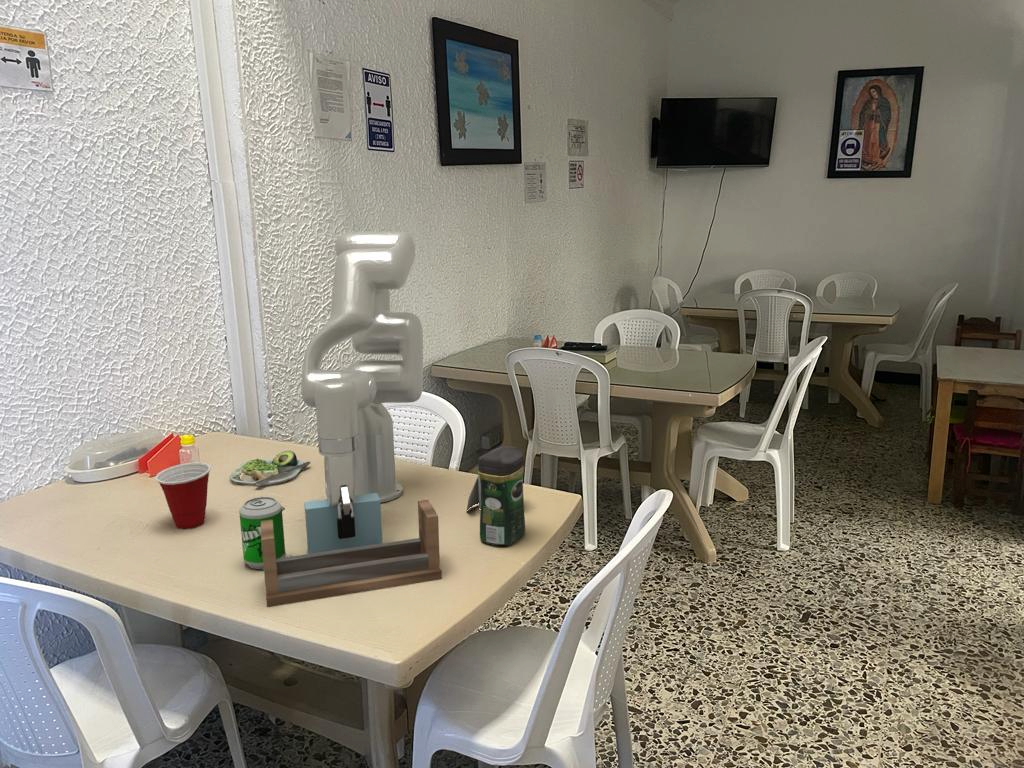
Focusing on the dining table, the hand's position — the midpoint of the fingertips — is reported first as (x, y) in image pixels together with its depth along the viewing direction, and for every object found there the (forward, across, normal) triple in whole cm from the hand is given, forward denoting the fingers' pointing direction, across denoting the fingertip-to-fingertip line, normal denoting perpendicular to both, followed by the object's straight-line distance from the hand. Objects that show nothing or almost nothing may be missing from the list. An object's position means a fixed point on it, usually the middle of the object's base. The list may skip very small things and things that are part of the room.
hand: (343, 527), depth 148 cm
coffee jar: (+5, +6, +31) cm, 31 cm away
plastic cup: (+5, -23, -30) cm, 38 cm away
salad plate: (+5, -50, -13) cm, 52 cm away
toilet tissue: (+5, -9, +33) cm, 35 cm away
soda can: (+5, +1, -15) cm, 16 cm away
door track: (+4, +13, 0) cm, 14 cm away
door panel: (+4, 0, 0) cm, 5 cm away
